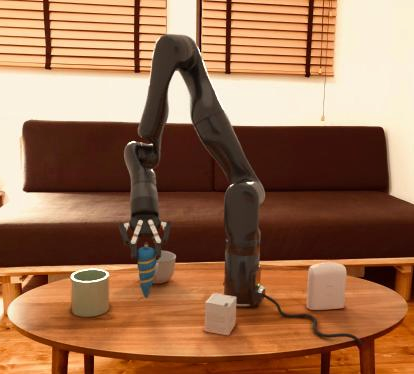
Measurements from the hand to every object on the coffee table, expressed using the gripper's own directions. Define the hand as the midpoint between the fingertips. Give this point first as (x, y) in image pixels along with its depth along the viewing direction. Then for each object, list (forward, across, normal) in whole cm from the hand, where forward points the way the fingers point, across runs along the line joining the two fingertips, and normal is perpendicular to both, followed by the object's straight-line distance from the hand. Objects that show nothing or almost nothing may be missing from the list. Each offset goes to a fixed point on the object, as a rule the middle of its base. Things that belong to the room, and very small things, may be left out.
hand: (146, 258), depth 117 cm
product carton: (+19, +17, +1) cm, 25 cm away
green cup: (+8, -14, +11) cm, 19 cm away
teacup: (-3, +4, +22) cm, 23 cm away
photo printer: (+13, +47, +6) cm, 49 cm away
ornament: (+7, 0, +9) cm, 12 cm away
